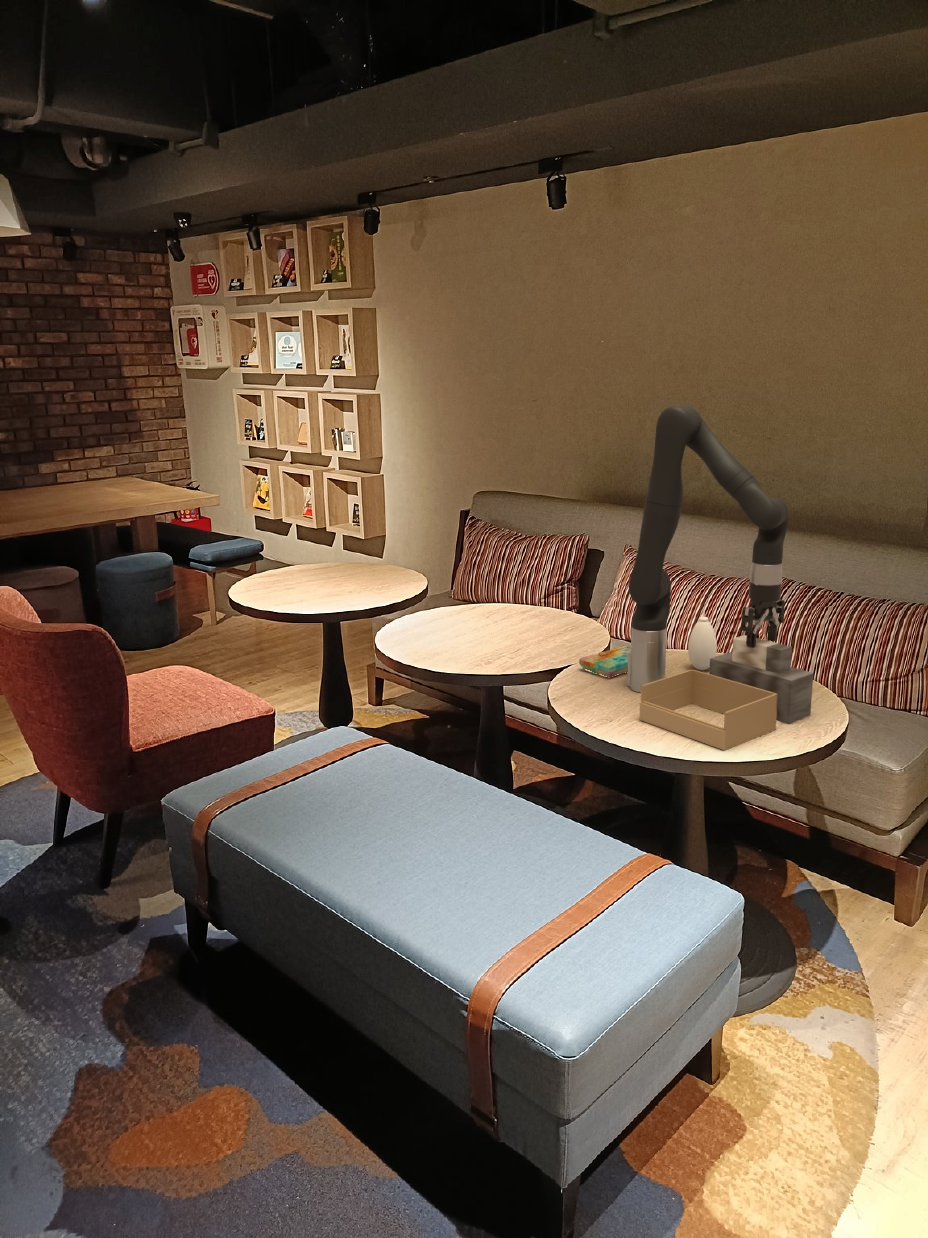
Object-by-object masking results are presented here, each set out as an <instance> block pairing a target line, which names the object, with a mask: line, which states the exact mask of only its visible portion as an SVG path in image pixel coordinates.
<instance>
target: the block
mask: <svg viewBox="0 0 928 1238" xmlns="http://www.w3.org/2000/svg"><path fill="white" fill-rule="evenodd" d="M746 638H747V635H741V636H737V637H734V638H733V639H732V651H731V652H732V661H734V662H737V663H741V664H745V665H748V666H752V667H756V668H760V669H763V670H767V671H771V672H774V673H778V674H781V673H784V672H787V671H789V670H791V667H792V666H791V665H792V655H793V654H792V652H793V646H791V645H786V644H782V643H778V642H775V641H774V642H773V641H769V640H765V639H761V638H757V637H756V647H755V648H750V647H747V645H746Z"/></svg>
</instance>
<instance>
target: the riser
mask: <svg viewBox="0 0 928 1238" xmlns="http://www.w3.org/2000/svg"><path fill="white" fill-rule="evenodd" d="M732 652H733V651H731V652H730V651H729V652H727V653H722V654H721V655H720V654H719V655H717V656H716V657H714V658H710V667H709V668H708V669H709V673H708V674H711V675H714V676H718V677H721V678H724V679H728V680H731V681H735V682H738V683H742V684H745V685H749V686H752V687H756V688H759V689H763V690H766V691H770V692H773V693H777V694H778V702H777V717H776V722H780V723H784V724H787V725H790V724H793V723H795V722H797V721H800V720H802V719H804V718H807V717H810V716H811V712H812V710H811V709H812V699H813V698H812V696H813V685H814V684H813V683H814V672H811V671H808V670H803V669H799V668H795V667H792V666H791V670H789V671H787V672H784V673H781V674H778V673H774V672H771V671H767V670H763V669H760V668H756V667H752V666H748V665H745V664H741V663H737V662H734V661H732Z"/></svg>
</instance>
